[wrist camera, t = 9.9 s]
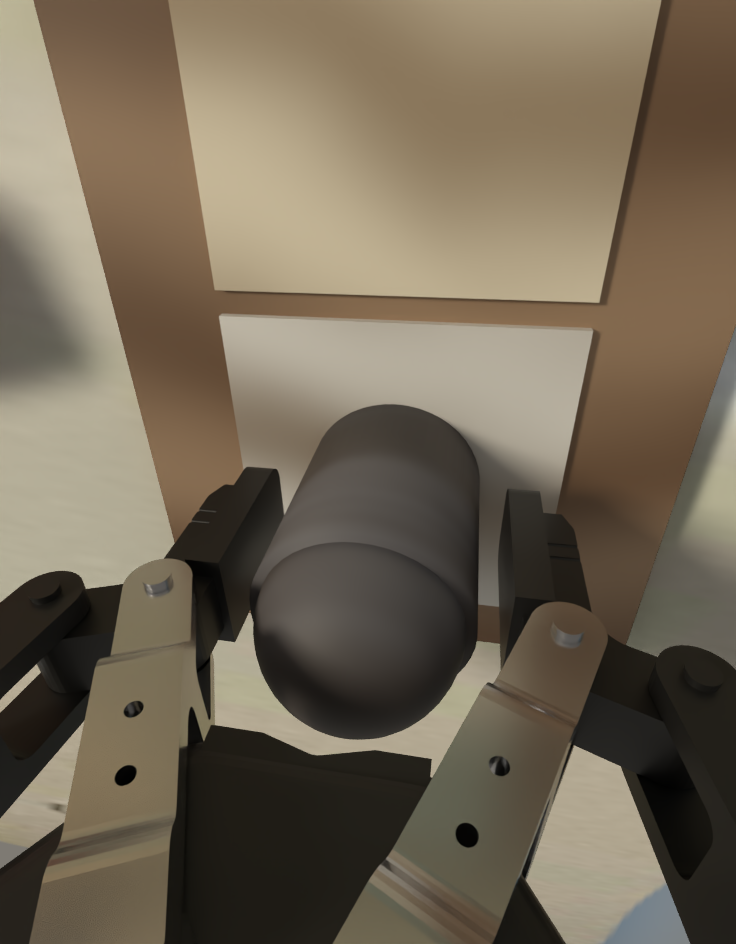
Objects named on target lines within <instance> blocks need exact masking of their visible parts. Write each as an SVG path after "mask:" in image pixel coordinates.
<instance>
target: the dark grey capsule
mask: <svg viewBox="0 0 736 944" xmlns="http://www.w3.org/2000/svg"><path fill="white" fill-rule="evenodd" d="M479 497H480V475H479V468H478V464H477V461H476V458H475V456H474V454H473V451H472V449H471V448H470V446H469V445H468V443H467V442H466V440H465V439H464V438H463V437H462V435H461V434H460V433H459V432H458V431H457V430H456V429H455V428H453V427H452V426H451V425H450V424H449V423H447V422H446V421H444V420H443V419H441V418H439V417H438V416H436V415H434V414H432V413H430V412H427V411H424V410H422V409H419V408H415V407H411V406H406V405H397V404H382V405H374V406H369V407H365V408H361V409H359V410H356V411H354V412H351V413H349V414H348V415H346V416H344V417H342V418H341V419H340V420H338V421H337V422H336V423H334V424H333V425H332V426H331V427H330V429H329V430H328V431H327V432H326V433H325V435H324V436H323V438H322V439H321V441H320V443H319V445H318V447H317V449H316V451H315V453H314V455H313V457H312V459H311V462H310V464H309V466H308V468H307V470H306V472H305V474H304V476H303V478H302V480H301V482H300V484H299V486H298V488H297V490H296V492H295V494H294V496H293V498H292V501H291V503H290V505H289V507H288V509H287V511H286V513H285V515H284V517H283V519H282V521H281V523H280V525H279V527H278V529H277V531H276V533H275V535H274V537H273V539H272V542H271V544H270V546H269V548H268V550H267V552H266V554H265V556H264V558H263V560H262V562H261V564H260V566H259V568H258V570H257V572H256V574H255V576H254V578H253V581H252V585H251V588H250V597H249V602H250V611H251V615H252V619H253V622H254V627H253V635H254V645H255V651H256V656H257V660H258V663H259V666H260V669H261V672H262V674H263V676H264V679H265V681H266V682H267V684H268V686H269V688H270V689H271V691H272V692H273V694H274V696H275V697H276V698H277V699H278V700H279V702H280V703H281V704H282V705H283V706H284V707H285V708H286V709H287V710H288V711H289V712H290V713H291V714H292V715H293V716H294V717H296V718H297V719H298V720H300V721H301V722H303V723H305V724H306V725H308V726H309V727H311V728H313V729H315V730H317V731H320V732H322V733H325V734H327V735H331V736H334V737H339V738H344V739H357V740H359V739H374V738H381V737H385V736H388V735H391V734H394V733H397V732H400V731H402V730H404V729H406V728H408V727H410V726H412V725H413V724H415V723H416V722H418V721H420V720H421V719H422V718H424V717H425V716H426V715H427V714H428V713H429V712H431V711H432V710H433V709H434V708H435V707H436V706H437V705H438V704H439V703H440V701H441V700H442V699H443V697H444V696H445V695H446V693H447V692H448V690H449V689H450V687H451V686H452V684H453V682H454V680H455V678H456V676H457V674H458V673H459V672H460V671H461V670H462V669H463V668H464V667H465V665H466V664H467V663H468V661H469V660H470V658H471V656H472V654H473V652H474V649H475V646H476V642H477V635H478V572H479Z"/></svg>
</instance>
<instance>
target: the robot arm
mask: <svg viewBox="0 0 736 944" xmlns="http://www.w3.org/2000/svg"><path fill="white" fill-rule="evenodd" d="M283 517H284V509H283V500H282V492H281V484H280V476H279V472H278V470H277V469H272V468H260V467H246V468H245V469H244V470H243V472H242V473H241V475H240V476H239V478H238V479H237V481H236V482H235V484H234V485H228V484H225V485H223V486H222V487H220V488H219V489H217V490H216V491H214V492H213V493H211V494H210V495H209V496H208V497H207V498H206V500H205V501H204V503H203V504H202V506H201V507H200V508H199V512H198V511H197V513H196V514H195V515H194V517H193V518H192V521H191V523H189V524H188V525H187V527H186V528H185V530H184V531H183V532H182V534H181V535H180V537H179V538H178V539H177V541H176V542H175V544H174V545H173V547H172V548H171V549H170V551H169V552H168V554H167V555H166V556H165V558H164V559H159V560H154V561H151V562H148V563H146V564H144V565H142V566H140V567H138V568H137V569H135V570H134V571H133V572H132V573H131V574H130V575H129V576H128V577H127V578H126V580H125V582H124V584H120V585H114V586H106V587H98V588H91V589H86V588H85V586H84V583H83V581H82V578H81V577H80V576H79V575H77V574H76V573H73V572H69V571H55V572H49V573H46V574H42V575H40V576H37V577H35V578H33V579H31V580H29V581H28V582H26V583H24V584H23V585H22V586H20V587H19V588H18V589H17V590H15V591H14V592H13V593H12V594H10V595H9V596H8V597H7V598H6V599H4V600H3V601H2V602H1V603H0V699H1V698H2V697H3V696H4V695H5V694H6V693H7V692H8V691H9V690H10V689H11V688H12V687H13V686H14V685H15V684H16V683H17V682H18V681H19V680H20V679H22V678H23V677H24V676H25V675H26V674H27V673H28V672H29V671H30V670H31V669H32V668H33V667H34V666H35V665H36V664H37V665H38V667H39V669H40V671H41V673H40V674H39V675H38V676H37V677H36V678H35V679H34V680H33V681H32V682H31V683H30V684H29V685H28V686H27V687H26V688H25V689H24V690H23V691H22V692H21V693H20V694H19V695H18V696H17V697H16V698H15V699H14V700H13V701H12V702H11V703H10V704H9V705H8V706H7V707H6V708H5V709H4V710H3V711H2V712H1V713H0V818H1V817H2V816H3V814H4V813H5V812H6V811H7V810H8V809H9V808H10V806H11V805H12V804H13V803H14V802H15V801H16V799H17V798H18V797H19V796H20V795H21V794H22V792H23V791H24V790H25V789H26V788H27V787H28V785H29V784H30V783H31V782H32V781H33V780H34V778H35V777H36V776H37V775H38V774H39V773H40V771H41V770H42V769H43V768H44V767H45V766H46V765H47V763H48V762H49V761H50V760H51V759H52V758H53V756H54V755H55V754H56V753H57V752H58V751H59V749H60V748H61V747H62V746H63V745H64V744H65V742H66V741H67V740H68V739H69V738H70V737H71V735H72V734H73V733H74V732H75V731H76V730H77V728H78V727H79V726H80V725H81V724H82V723H83V721H84V720H85V721H84V726H83V731H82V736H81V741H80V746H79V751H78V756H77V761H76V766H75V771H74V776H73V781H72V786H71V791H70V796H69V802H68V807H67V812H66V817H65V822H64V823H63V824H61V825H60V826H58V827H57V828H56V829H54V830H53V831H52V832H50V833H49V834H47V835H46V836H45V837H43V838H42V839H41V840H39V841H38V842H36V843H35V844H34V845H32V846H31V847H30V848H28V849H27V850H25V851H24V852H23V853H21V854H20V855H19V856H17V857H16V858H15V859H13V860H12V861H10V862H9V863H8V864H6V865H5V866H4V867H2V868H1V869H0V944H566V943H565V942H564V940H563V938H562V937H561V935H560V934H559V932H558V931H557V929H556V927H555V926H554V924H553V923H552V921H551V920H550V918H549V916H548V915H547V913H546V912H545V910H544V909H543V907H542V905H541V904H540V902H539V901H538V899H537V897H536V896H535V894H534V893H533V891H532V890H531V888H530V886H529V885H528V883H527V882H526V879H527V876H528V873H529V871H530V868H531V865H532V862H533V860H534V857H535V854H536V851H537V848H538V846H539V843H540V840H541V837H542V834H543V831H544V828H545V825H546V822H547V819H548V816H549V814H550V811H551V808H552V805H553V803H554V800H555V797H556V794H557V792H558V789H559V786H560V784H561V781H562V778H563V775H564V773H565V770H566V767H567V764H568V762H569V759H570V756H571V753H572V751H573V748H574V745H575V746H577V747H579V748H582V749H584V750H586V751H588V752H590V753H593V754H595V755H597V756H599V757H601V758H604V759H606V760H608V761H610V762H612V763H615V764H617V765H619V766H621V768H622V771H623V773H624V776H625V779H626V781H627V784H628V786H629V789H630V791H631V794H632V796H633V799H634V801H635V804H636V807H637V809H638V812H639V814H640V817H641V819H642V822H643V824H644V827H645V829H646V832H647V835H648V837H649V840H650V842H651V845H652V847H653V850H654V852H655V855H656V857H657V860H658V863H659V865H660V868H661V870H662V873H663V875H664V878H665V880H666V883H667V885H668V888H669V890H670V893H671V895H672V898H673V901H674V903H675V906H676V908H677V911H678V913H679V916H680V918H681V921H682V924H683V926H684V928H685V931H686V934H687V936H688V938H689V941H690V944H736V670H735V669H734V668H733V667H732V666H731V665H730V664H729V663H728V662H726V661H725V660H723V659H722V658H720V657H719V656H717V655H715V654H713V653H711V652H709V651H707V650H704V649H701V648H697V647H693V646H684V645H680V646H673V647H669V648H667V649H665V650H664V651H662V652H661V653H660V655H659V656H658V657H656V656H653V655H650V654H648V653H645V652H642V651H639V650H637V649H634V648H631V647H629V646H627V645H624V644H622V643H620V642H619V641H617V640H615V639H614V638H612V637H611V636H610V635H608V634H607V631H606V629H605V627H604V625H603V624H602V622H601V621H600V620H599V619H598V618H597V617H596V616H595V615H594V614H593V613H592V611H591V606H590V602H589V597H588V592H587V587H586V583H585V578H584V573H583V568H582V564H581V562H580V554H579V550H578V549H577V547H578V545H577V540H576V535H575V531H574V529H573V527H572V526H571V525H570V524H569V523H568V521H567V520H566V519H565V518H564V516H563V515H562V514H551V513H543V508H542V501H541V494H540V491H533V490H521V489H507V492H506V498H505V505H504V512H503V519H502V526H501V533H500V540H499V550H498V587H499V621H500V656H501V671H500V673H499V675H498V677H497V679H496V680H495V682H494V683H493V684H491V683H489V682H488V683H487V684H486V685H485V686H484V687H483V689H482V690H481V692H480V693H479V695H478V697H477V699H476V701H475V702H474V704H473V706H472V708H471V710H470V711H469V713H468V715H467V717H466V719H465V720H464V722H463V724H462V726H461V727H460V729H459V731H458V733H457V735H456V736H455V738H454V740H453V742H452V744H451V745H450V747H449V749H448V751H447V753H446V754H445V756H444V758H443V760H442V762H441V763H440V765H439V767H438V769H437V771H436V772H435V774H434V776H433V778H431V777H430V772H431V760H432V759H428V758H421V757H415V756H408V755H402V754H396V753H389V752H383V751H376V750H373V751H362V752H352V753H341V754H331V755H318V756H316V755H311V754H308V753H306V752H304V751H302V750H300V749H297V748H295V747H293V746H291V745H289V744H286V743H284V742H282V741H280V740H278V739H275V738H273V737H271V736H269V735H267V734H264V733H261V732H255V731H248V730H242V729H236V728H229V727H223V726H216V725H215V701H214V659H213V655H212V651H213V649H214V647H215V645H216V643H217V641H218V640H224V641H231V642H235V641H236V639H237V637H238V635H239V633H240V630H241V628H242V626H243V624H244V622H245V620H246V618H247V615H248V613H249V611H250V602H249V597H250V588H251V585H252V581H253V578H254V576H255V574H256V572H257V570H258V568H259V566H260V564H261V562H262V560H263V558H264V556H265V554H266V552H267V550H268V548H269V546H270V544H271V542H272V539H273V537H274V535H275V533H276V531H277V529H278V527H279V525H280V523H281V521H282V519H283Z"/></svg>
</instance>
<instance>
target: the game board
mask: <svg viewBox="0 0 736 944" xmlns="http://www.w3.org/2000/svg"><path fill="white" fill-rule="evenodd" d="M34 4H35V8H36V12H37V15H38V19H39V23H40V27H41V31H42V35H43V39H44V42H45V46H46V50H47V54H48V58H49V62H50V65H51V69H52V73H53V77H54V81H55V85H56V88H57V92H58V96H59V100H60V104H61V108H62V112H63V115H64V119H65V123H66V127H67V131H68V135H69V138H70V142H71V146H72V150H73V154H74V158H75V161H76V165H77V169H78V173H79V177H80V181H81V184H82V188H83V192H84V196H85V200H86V204H87V208H88V211H89V215H90V219H91V223H92V227H93V231H94V234H95V238H96V242H97V246H98V250H99V254H100V257H101V261H102V265H103V269H104V273H105V277H106V281H107V284H108V288H109V292H110V296H111V300H112V304H113V307H114V311H115V315H116V319H117V323H118V327H119V330H120V334H121V338H122V342H123V346H124V350H125V354H126V357H127V361H128V365H129V369H130V373H131V377H132V380H133V384H134V388H135V392H136V396H137V400H138V403H139V407H140V411H141V415H142V419H143V423H144V427H145V430H146V434H147V438H148V442H149V446H150V450H151V453H152V457H153V461H154V465H155V469H156V473H157V476H158V480H159V484H160V488H161V492H162V496H163V499H164V503H165V507H166V511H167V515H168V519H169V523H170V526H171V530H172V534H173V538H174V542H176V541H177V539H178V538H179V537H180V535H181V534H182V532H183V531H184V530H185V528H186V527H187V525H188V524H189V523H191V521H192V518H193V517H194V515H195V514H196V513H197V511H198V512H199V508H200V507H201V506H202V504H203V503H204V501H205V500H206V498H207V497H208V496H209V495H210V494H211V493H213V492H214V491H216V490H217V489H219V488H220V487H222V486H223V485H225V484H228V485H234V484H235V482H236V481H237V479H238V478H239V476H240V475H241V473H242V472H243V470H244V469H245V468H246V467H260V468H272V469H277V470H278V472H279V476H280V484H281V492H282V500H283V509H284V515H285V513H286V511H287V509H288V507H289V505H290V503H291V501H292V498H293V496H294V494H295V492H296V490H297V488H298V486H299V484H300V482H301V480H302V478H303V476H304V474H305V472H306V470H307V468H308V466H309V464H310V462H311V459H312V457H313V455H314V453H315V451H316V449H317V447H318V445H319V443H320V441H321V439H322V438H323V436H324V435H325V433H326V432H327V431H328V430H329V429H330V427H331V426H332V425H333V424H334V423H336V422H337V421H338V420H340V419H341V418H342V417H344V416H346V415H348V414H349V413H351V412H354V411H356V410H359V409H361V408H365V407H369V406H374V405H382V404H397V405H406V406H411V407H415V408H419V409H422V410H424V411H427V412H430V413H432V414H434V415H436V416H438V417H439V418H441V419H443V420H444V421H446V422H447V423H449V424H450V425H451V426H452V427H453V428H455V429H456V430H457V431H458V432H459V433H460V434H461V435H462V437H463V438H464V439H465V440H466V442H467V443H468V445H469V446H470V448H471V449H472V451H473V454H474V456H475V458H476V461H477V464H478V468H479V475H480V497H479V572H478V635H477V641H483V642H491V643H499V644H500V621H499V587H498V550H499V540H500V533H501V526H502V519H503V512H504V505H505V498H506V492H507V489H521V490H533V491H540V494H541V501H542V508H543V513H551V514H562V515H563V516H564V518H565V519H566V520H567V521H568V523H569V524H570V525H571V526H572V527H573V529H574V531H575V535H576V540H577V545H578V547H577V549H578V550H579V554H580V562H581V564H582V568H583V573H584V578H585V583H586V587H587V592H588V597H589V602H590V606H591V611H592V613H593V614H594V615H595V616H596V617H597V618H598V619H599V620H600V621H601V622H602V624H603V625H604V627H605V629H606V631H607V634H608V635H610V636H611V637H612V638H614V639H615V640H617V641H619V642H620V643H622V644H624V645H626V643H627V640H628V637H629V634H630V631H631V628H632V625H633V622H634V620H635V617H636V614H637V611H638V608H639V605H640V602H641V599H642V596H643V593H644V590H645V588H646V585H647V582H648V579H649V576H650V573H651V570H652V567H653V564H654V561H655V559H656V556H657V553H658V550H659V547H660V544H661V541H662V538H663V535H664V532H665V529H666V527H667V524H668V521H669V518H670V515H671V512H672V509H673V506H674V503H675V500H676V497H677V495H678V492H679V489H680V486H681V483H682V480H683V477H684V474H685V471H686V468H687V465H688V463H689V460H690V457H691V454H692V451H693V448H694V445H695V442H696V439H697V436H698V433H699V431H700V428H701V425H702V422H703V419H704V416H705V413H706V410H707V407H708V404H709V402H710V399H711V396H712V393H713V390H714V387H715V384H716V381H717V378H718V375H719V372H720V370H721V367H722V364H723V361H724V358H725V355H726V352H727V349H728V346H729V343H730V340H731V338H732V335H733V332H734V329H735V326H736V0H34ZM249 613H251V611H249Z"/></svg>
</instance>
